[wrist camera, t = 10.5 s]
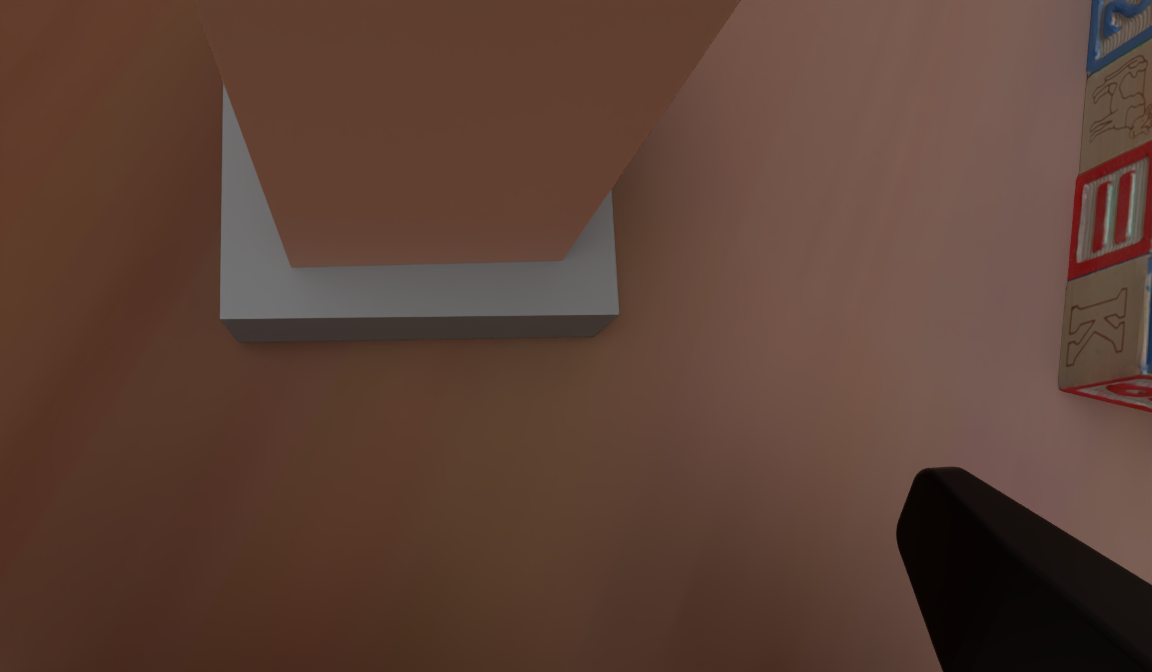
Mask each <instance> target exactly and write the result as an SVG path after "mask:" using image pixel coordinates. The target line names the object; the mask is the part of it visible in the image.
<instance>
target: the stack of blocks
mask: <svg viewBox="0 0 1152 672" xmlns="http://www.w3.org/2000/svg"><path fill="white" fill-rule="evenodd" d="M1086 71H1087V75H1088V80H1087V84H1086V92H1085V105H1084V119H1083V129H1082V143H1081V154H1080V173H1079V176H1078V177H1077V180H1076V188H1075V197H1074V209H1073V222H1072V234H1071V244H1070V257H1069V269H1068V284H1067V288H1066V295H1065V306H1064V317H1063V328H1062V340H1061V352H1060V363H1059V375H1058V387H1059V389H1060V390H1061V391H1064V392H1068V393H1072V394H1076V395H1081V396H1085V397H1089V398H1093V399H1097V400H1101V401H1106V402H1110V403H1114V404H1118V405H1123V406H1127V407H1131V408H1135V409H1139V410H1144V411H1148V412H1152V0H1092V10H1091V22H1090V38H1089V47H1088V60H1087V69H1086Z"/></svg>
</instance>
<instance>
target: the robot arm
mask: <svg viewBox="0 0 1152 672" xmlns="http://www.w3.org/2000/svg"><path fill="white" fill-rule="evenodd" d="M896 537H897V544H898V548H899V551H900V554H901V557H902V560H903V562H904V565H905V568H906V571H907V574H908V576H909V579H910V582H911V585H912V588H913V590H914V593H915V596H916V599H917V602H918V604H919V607H920V610H921V613H922V616H923V618H924V621H925V624H926V627H927V630H928V632H929V635H930V638H931V641H932V644H933V646H934V649H935V652H936V655H937V657H938V660H939V662H940V665H941V668H942V670H943V672H1152V585H1151V584H1149V583H1148V582H1146V581H1144V580H1143V579H1141V578H1139V577H1138V576H1136V575H1135V574H1133V573H1131V572H1130V571H1128V570H1126V569H1125V568H1123V567H1122V566H1120V565H1118V564H1117V563H1115V562H1113V561H1112V560H1110V559H1109V558H1107V557H1105V556H1104V555H1102V554H1100V553H1099V552H1097V551H1096V550H1094V549H1092V548H1091V547H1089V546H1087V545H1086V544H1084V543H1083V542H1081V541H1079V540H1078V539H1076V538H1074V537H1073V536H1071V535H1070V534H1068V533H1066V532H1065V531H1063V530H1061V529H1060V528H1058V527H1057V526H1055V525H1053V524H1052V523H1050V522H1048V521H1047V520H1045V519H1044V518H1042V517H1040V516H1039V515H1037V514H1036V513H1034V512H1032V511H1031V510H1029V509H1027V508H1026V507H1024V506H1023V505H1021V504H1019V503H1018V502H1016V501H1014V500H1013V499H1011V498H1010V497H1008V496H1006V495H1005V494H1003V493H1001V492H1000V491H998V490H997V489H995V488H993V487H992V486H990V485H988V484H987V483H985V482H984V481H982V480H980V479H979V478H977V477H975V476H974V475H972V474H971V473H969V472H967V471H966V470H964V469H962V468H959V467H937V468H926V469H923V470H921V471H920V472H919V473H918V474H917V475H916V476H915V478H914V480H913V483H912V486H911V488H910V491H909V494H908V496H907V499H906V502H905V504H904V507H903V510H902V512H901V515H900V518H899V520H898V524H897V531H896Z"/></svg>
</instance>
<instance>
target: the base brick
mask: <svg viewBox="0 0 1152 672" xmlns="http://www.w3.org/2000/svg"><path fill="white" fill-rule="evenodd" d="M618 315H619V303H618V287H617V270H616V254H615V238H614V221H613V205H612V189H611V190H610V192H609V193H608V195H607V196H606V198H605V199H604V201H603V202H602V204H601V205H600V206H599V208H598V209H597V211H596V212H595V214H594V215H593V217H592V218H591V220H590V221H589V222H588V224H587V225H586V227H585V228H584V230H583V231H582V233H581V234H580V236H579V237H578V239H577V240H576V241H575V243H574V244H573V246H572V247H571V249H570V250H569V252H568V253H567V255H566V256H565V257H564V259H563V260H562V261H531V262H491V263H450V264H409V265H368V266H327V267H291V266H290V263H289V260H288V258H287V255H286V252H285V250H284V247H283V244H282V241H281V239H280V236H279V233H278V230H277V228H276V225H275V222H274V219H273V217H272V214H271V211H270V209H269V206H268V203H267V200H266V198H265V195H264V192H263V189H262V187H261V184H260V181H259V179H258V176H257V173H256V170H255V168H254V165H253V162H252V159H251V157H250V154H249V151H248V149H247V146H246V143H245V140H244V138H243V135H242V132H241V129H240V127H239V124H238V121H237V118H236V116H235V113H234V110H233V108H232V105H231V102H230V99H229V97H228V94H227V91H226V88H225V86H224V83H223V140H222V212H221V284H220V320H221V321H222V322H223V323H224V325H225V326H226V327H227V328H228V330H229V331H230V332H231V333H232V335H233V336H234V337H235V338H236V340H237V341H238V342H291V341H353V340H414V339H476V338H537V337H594V336H595V335H596V334H597V333H599V332H600V331H601V330H602V329H603V328H604V327H605V326H607V325H608V324H609V323H610V322H611V321H612V320H613V319H615V318H616V317H617V316H618Z"/></svg>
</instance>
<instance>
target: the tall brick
mask: <svg viewBox="0 0 1152 672" xmlns="http://www.w3.org/2000/svg"><path fill="white" fill-rule="evenodd" d="M193 1H194V4H195V7H196V9H197V12H198V15H199V17H200V20H201V23H202V26H203V28H204V31H205V34H206V37H207V39H208V42H209V45H210V48H211V50H212V53H213V56H214V58H215V61H216V64H217V67H218V69H219V72H220V75H221V78H222V80H223V83H224V86H225V88H226V91H227V94H228V97H229V99H230V102H231V105H232V108H233V110H234V113H235V116H236V118H237V121H238V124H239V127H240V129H241V132H242V135H243V138H244V140H245V143H246V146H247V149H248V151H249V154H250V157H251V159H252V162H253V165H254V168H255V170H256V173H257V176H258V179H259V181H260V184H261V187H262V189H263V192H264V195H265V198H266V200H267V203H268V206H269V209H270V211H271V214H272V217H273V219H274V222H275V225H276V228H277V230H278V233H279V236H280V239H281V241H282V244H283V247H284V250H285V252H286V255H287V258H288V260H289V263H290V266H291V267H327V266H368V265H409V264H450V263H491V262H531V261H562V260H563V259H564V257H565V256H566V255H567V253H568V252H569V250H570V249H571V247H572V246H573V244H574V243H575V241H576V240H577V239H578V237H579V236H580V234H581V233H582V231H583V230H584V228H585V227H586V225H587V224H588V222H589V221H590V220H591V218H592V217H593V215H594V214H595V212H596V211H597V209H598V208H599V206H600V205H601V204H602V202H603V201H604V199H605V198H606V196H607V195H608V193H609V192H610V190H611V189H612V188H613V186H614V185H615V183H616V182H617V180H618V179H619V177H620V176H621V174H622V173H623V171H624V170H625V169H626V167H627V166H628V164H629V163H630V161H631V160H632V158H633V157H634V155H635V154H636V153H637V151H638V150H639V148H640V147H641V145H642V144H643V142H644V141H645V139H646V138H647V137H648V135H649V134H650V132H651V131H652V129H653V128H654V126H655V125H656V123H657V122H658V120H659V119H660V118H661V116H662V115H663V113H664V112H665V110H666V109H667V107H668V106H669V104H670V103H671V102H672V100H673V99H674V97H675V96H676V94H677V93H678V91H679V90H680V88H681V87H682V85H683V84H684V83H685V81H686V80H687V78H688V77H689V75H690V74H691V72H692V71H693V69H694V68H695V67H696V65H697V64H698V62H699V61H700V59H701V58H702V56H703V55H704V53H705V52H706V51H707V49H708V48H709V46H710V45H711V43H712V42H713V40H714V39H715V37H716V36H717V34H718V33H719V32H720V30H721V29H722V27H723V26H724V24H725V23H726V21H727V20H728V18H729V17H730V16H731V14H732V13H733V11H734V10H735V8H736V7H737V5H738V4H739V2H740V1H741V0H193Z"/></svg>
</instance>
